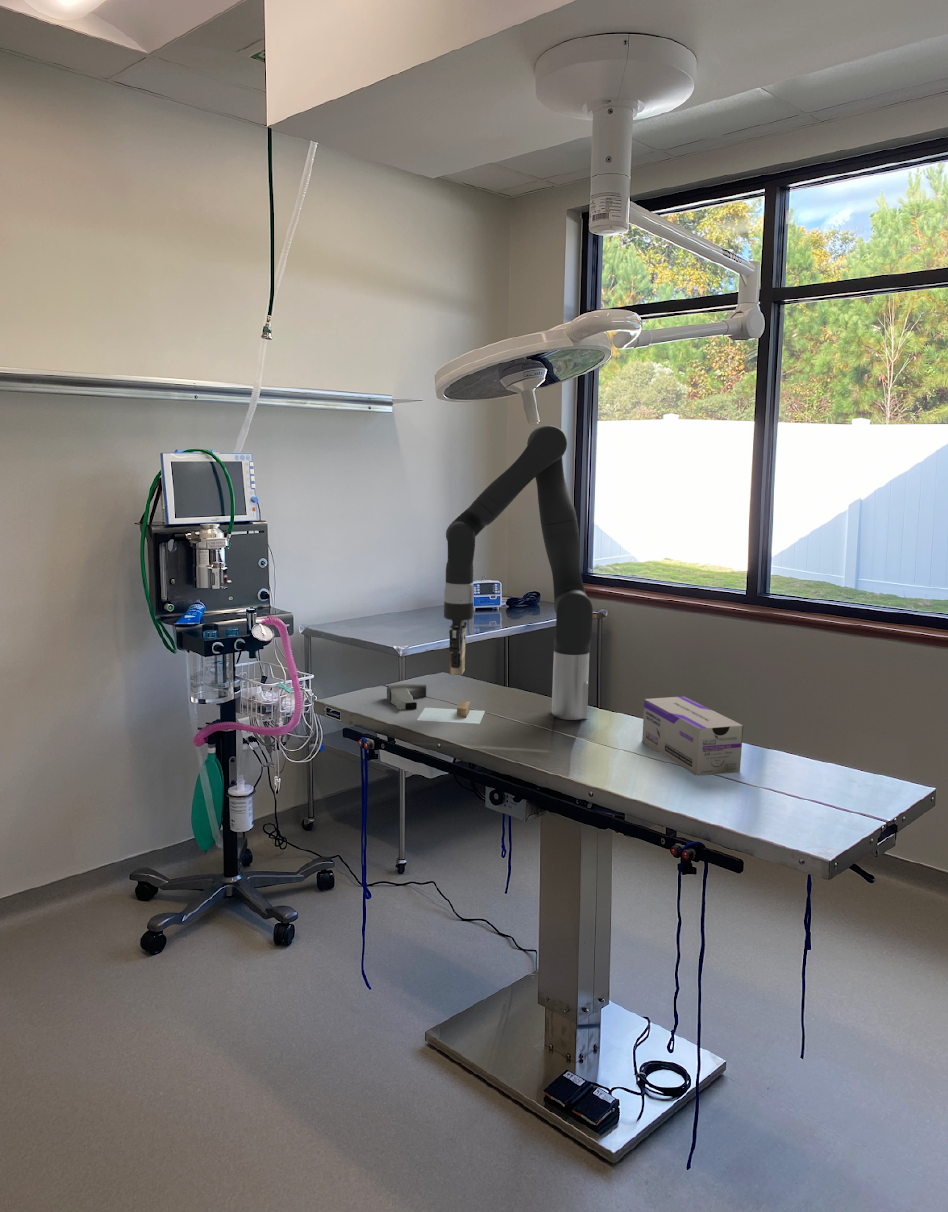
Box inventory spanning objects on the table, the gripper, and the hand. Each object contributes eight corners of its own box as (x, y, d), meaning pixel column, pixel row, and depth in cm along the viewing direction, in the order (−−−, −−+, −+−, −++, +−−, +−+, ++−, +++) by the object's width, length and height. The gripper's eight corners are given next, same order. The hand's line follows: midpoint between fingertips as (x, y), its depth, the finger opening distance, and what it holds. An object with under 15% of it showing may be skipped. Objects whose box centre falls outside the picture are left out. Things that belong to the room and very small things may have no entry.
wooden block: (464, 670, 242) (465, 638, 240) (461, 675, 236) (462, 642, 235) (452, 669, 242) (453, 637, 241) (449, 674, 237) (449, 641, 235)
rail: (469, 710, 244) (469, 701, 244) (466, 717, 237) (466, 708, 237) (460, 710, 244) (460, 701, 244) (456, 717, 238) (457, 708, 237)
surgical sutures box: (642, 742, 223) (644, 699, 221) (681, 739, 226) (684, 696, 224) (696, 776, 199) (699, 728, 198) (739, 772, 203) (743, 725, 201)
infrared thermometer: (400, 716, 244) (383, 699, 257) (443, 712, 248) (424, 695, 262) (401, 700, 243) (383, 683, 256) (444, 696, 247) (425, 679, 261)
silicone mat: (485, 713, 244) (485, 710, 244) (479, 726, 233) (479, 723, 232) (425, 709, 246) (425, 707, 246) (416, 722, 234) (416, 720, 234)
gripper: (469, 605, 229) (468, 672, 232) (476, 596, 243) (475, 659, 246) (439, 603, 230) (438, 670, 232) (448, 595, 244) (447, 658, 247)
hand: (457, 664), depth 239 cm, fingers closed on wooden block, 5 cm apart
